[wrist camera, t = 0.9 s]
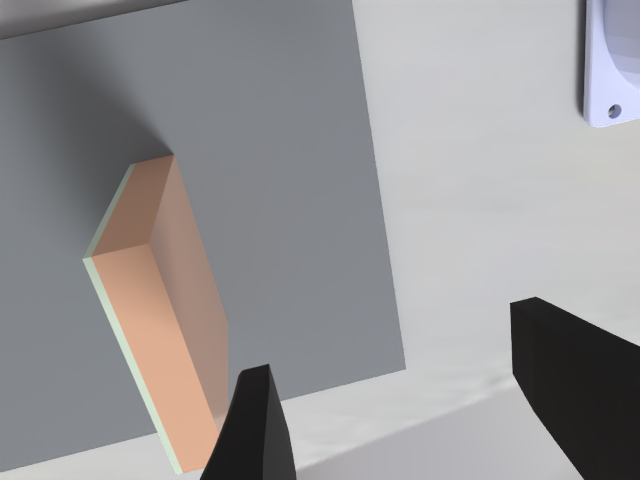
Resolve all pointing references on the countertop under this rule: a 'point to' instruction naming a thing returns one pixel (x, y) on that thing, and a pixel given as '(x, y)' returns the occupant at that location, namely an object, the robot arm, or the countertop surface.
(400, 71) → the countertop surface
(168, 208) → the tile
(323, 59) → the mat
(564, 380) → the robot arm
